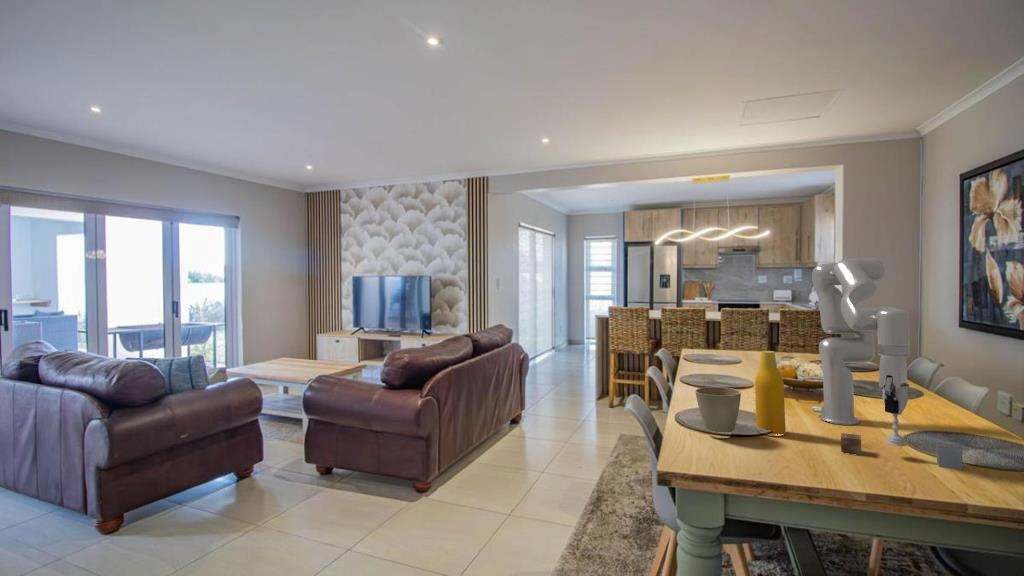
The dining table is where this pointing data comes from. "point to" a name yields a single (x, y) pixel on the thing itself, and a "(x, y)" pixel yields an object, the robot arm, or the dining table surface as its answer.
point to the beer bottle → (769, 395)
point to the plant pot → (718, 407)
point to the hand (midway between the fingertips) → (895, 409)
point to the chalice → (903, 399)
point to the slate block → (949, 457)
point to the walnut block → (851, 443)
